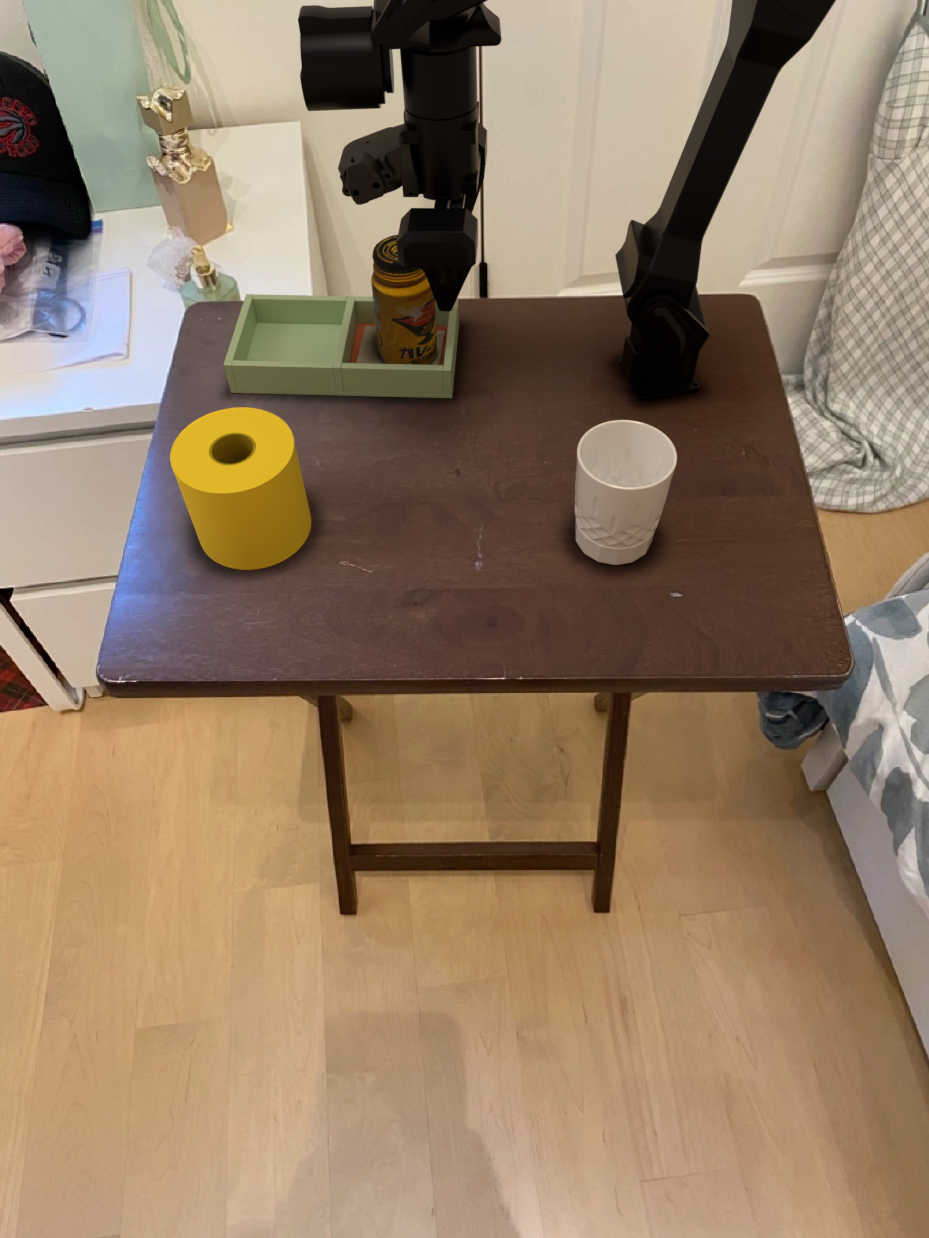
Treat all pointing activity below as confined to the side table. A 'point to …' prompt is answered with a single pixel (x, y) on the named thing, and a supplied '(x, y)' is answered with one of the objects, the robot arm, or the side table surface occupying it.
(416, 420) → the side table surface
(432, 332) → the condiment
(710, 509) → the side table surface
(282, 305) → the holder
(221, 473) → the yellow toilet paper roll
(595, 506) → the white cup
